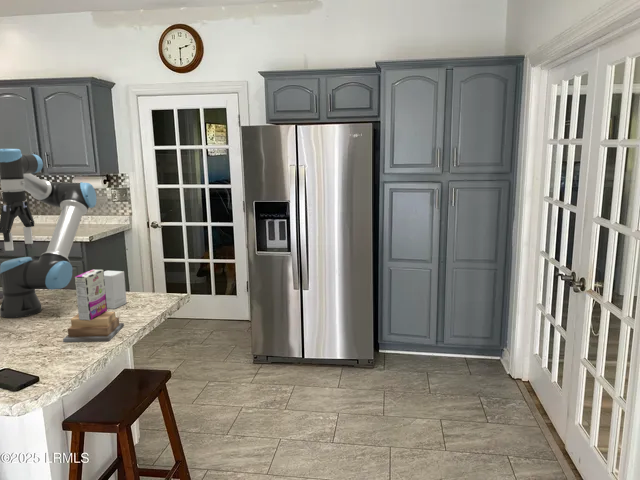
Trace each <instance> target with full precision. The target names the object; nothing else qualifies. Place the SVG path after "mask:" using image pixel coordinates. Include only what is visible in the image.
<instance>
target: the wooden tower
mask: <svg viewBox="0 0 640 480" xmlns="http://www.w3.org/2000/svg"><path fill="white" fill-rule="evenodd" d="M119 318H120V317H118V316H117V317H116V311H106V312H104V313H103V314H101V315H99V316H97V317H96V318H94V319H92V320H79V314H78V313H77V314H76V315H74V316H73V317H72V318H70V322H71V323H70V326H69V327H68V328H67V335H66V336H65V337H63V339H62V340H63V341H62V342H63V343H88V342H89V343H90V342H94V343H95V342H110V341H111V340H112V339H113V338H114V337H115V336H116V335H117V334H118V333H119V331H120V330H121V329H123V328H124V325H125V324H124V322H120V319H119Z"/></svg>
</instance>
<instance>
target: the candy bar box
mask: <svg viewBox="0 0 640 480" xmlns="http://www.w3.org/2000/svg"><path fill="white" fill-rule="evenodd" d="M74 284H75V285H74V286H75V293H76V294H75V295H76V303H77V314H79V320H92V319H94V318H96V317H97V316H99V315H101V314H103V313H104V312H108V308H107V302H106V292H105V282H104V269H91V270H88V271H85V272H82V273H80V274H77V275H76V276H74Z"/></svg>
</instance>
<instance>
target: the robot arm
mask: <svg viewBox="0 0 640 480" xmlns="http://www.w3.org/2000/svg"><path fill="white" fill-rule="evenodd" d="M43 166H44V163H43V160H42V158H41V156H39V155H38V154H34V153H22V150H21V149H19V148H0V189H1V191H2V192H1V198H2V199H1V200H2V202H4V203H6V204H5V205H3V204H2V205H1V208H0V209H1V213H0V234H2V236H3V243H4V245H3V246H4V251H5V252H6V251H9V252H10V251H12V252H13V251H14V250H15V249H14V242H13V241H14V239H13V232H11V231H12V227H13V224H14V222H15V219H16V218H17V217H18V219H19V220H20V221H21V223H22V225H23V226H24V227H22V228H23V229H22V230H23V238H24V244H25V245H27V244H28V245H30V244H31V245H32V244H34V240H33V230H32V227H33V228H34V227H35V220H34V218H33V214H32V212H31V210H30V208H29V202H28V201H26V200H27V194H26V192H27V193H29V194H30V195H31V197H32V198H34V199H35V200H37V201H40V202H41V203H43V204H46V205H49V206H52V207H56V208H60V209H61V212H60V214H59V217H58V220H57V222H56V224H55V228H54V229H53V232H52V236H51V238H50V241H49V243H48V247H47V249H46V251H45V252H43V253H41V254H40V256H39V259H38V260H33V258H32V257H31V256H24V257H22V256H21V257H17V258H12V259H8V260H5V261H2V263H0V279H1V288H2V296H3V297H2V301H1V304H0V317H2V318H7V319H9V318H10V319H16V318H24V317H28V316H32V315H36V314H38V313H40V312H42V309H43V307H42V303H41V301H40V299H39V297H38V296H37V293H36V290H60V289H63V288H65V287H67V286H68V285H69V283H70V282H71V280H72V278H73V265H72V264H71V261H70V259H69V255H70V252H71V249H72V246H73V245H74V241H75V238H76V235H77V232H78V229H79V226H80V223H81V219H82V217H83V216H84V215H87V213H88V210H89V209H91V208H95V207H96V205H97V193H96V189H95V187H94V186H93V185H92V184H91V183H89V182H83V181H82V182H65V181H64V182H61V181H60V182H59V181H58V182H55V181H54V182H53V181H49V180H47V179H40V178H39V177H37V176H35V175H34V174H36V173H40V172H41V171H42V169H43Z"/></svg>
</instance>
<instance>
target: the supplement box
mask: <svg viewBox="0 0 640 480" xmlns="http://www.w3.org/2000/svg"><path fill="white" fill-rule="evenodd" d="M103 271H104V270H103ZM125 280H126V278H125V271H124V270H123V271H121V270H105V271H104V282H105V292H106V302H107V309H109V310H110V309H111V310H112V309H113V310H115V309H117V308H119V307H121V306H124V305H126V304H127V293H126V281H125Z"/></svg>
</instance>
